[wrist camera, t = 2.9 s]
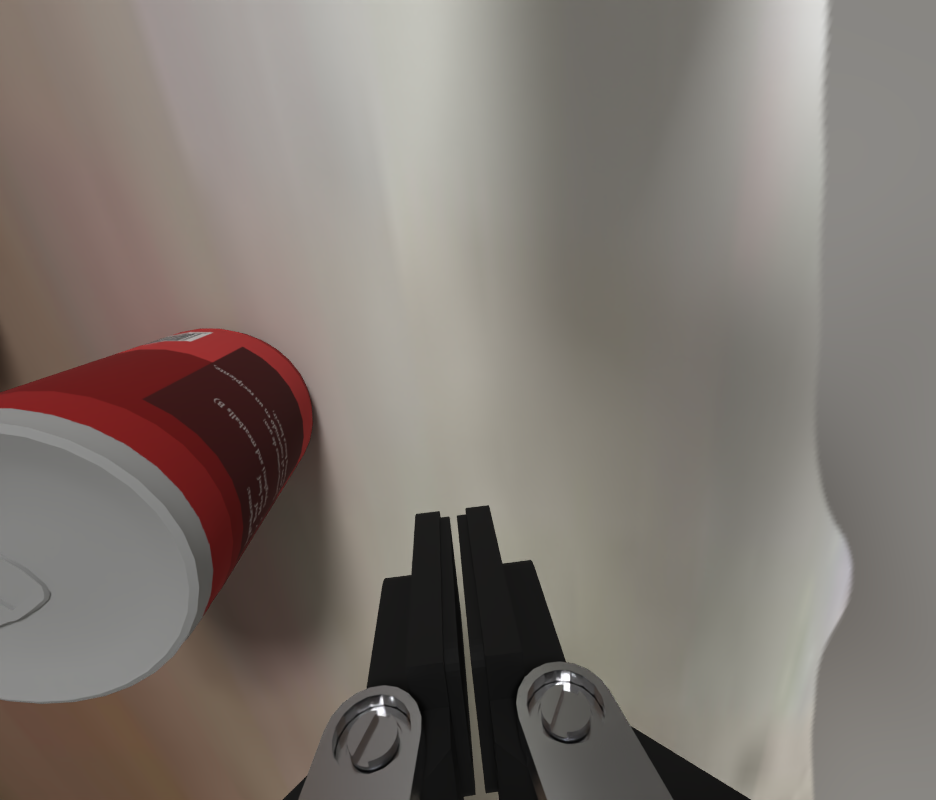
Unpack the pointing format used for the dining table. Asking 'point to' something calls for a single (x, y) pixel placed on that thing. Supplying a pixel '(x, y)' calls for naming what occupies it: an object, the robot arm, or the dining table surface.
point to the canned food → (134, 503)
